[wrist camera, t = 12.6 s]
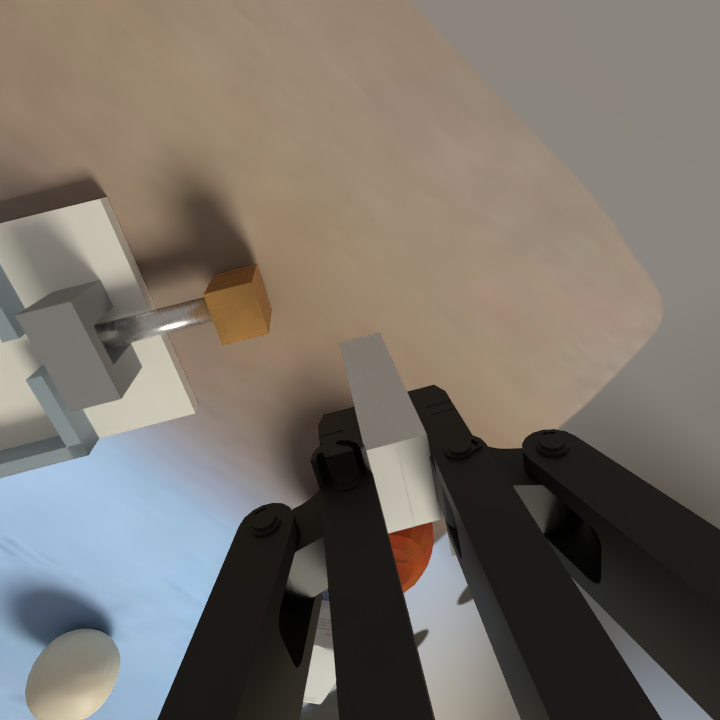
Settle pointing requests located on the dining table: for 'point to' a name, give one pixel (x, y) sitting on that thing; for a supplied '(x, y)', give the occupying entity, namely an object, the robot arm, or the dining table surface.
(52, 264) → the dock
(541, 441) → the robot arm
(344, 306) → the dining table surface
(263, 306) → the lock pin
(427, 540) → the fruit
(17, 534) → the dining table surface
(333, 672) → the small box
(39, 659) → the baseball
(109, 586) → the dining table surface
